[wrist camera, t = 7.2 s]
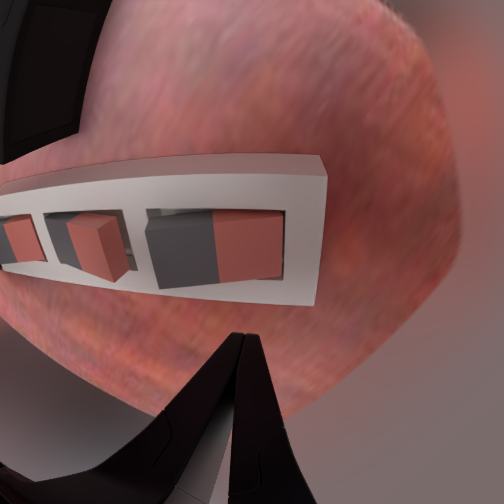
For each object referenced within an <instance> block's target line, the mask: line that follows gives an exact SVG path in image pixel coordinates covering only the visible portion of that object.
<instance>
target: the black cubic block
mask: <svg viewBox="0 0 504 504" xmlns="http://www.w3.org/2000/svg"><path fill="white" fill-rule="evenodd" d="M111 2H112V0H0V164H1V165H4V164H6V163H9V162H11V161H13V160H15V159H17V158H19V157H21V156H23V155H26V154H28V153H30V152H32V151H34V150H37V149H39V148H41V147H43V146H46V145H48V144H51V143H53V142H55V141H58V140H60V139H63V138H66V137H68V136H71V135H74V134H76V133H78V131H79V124H80V117H81V111H82V105H83V100H84V95H85V90H86V85H87V80H88V76H89V72H90V68H91V64H92V60H93V56H94V53H95V49H96V46H97V42H98V39H99V36H100V33H101V30H102V27H103V24H104V21H105V18H106V15H107V13H108V10H109V7H110V5H111Z"/></svg>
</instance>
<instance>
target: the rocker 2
mask: <svg viewBox="0 0 504 504" xmlns="http://www.w3.org/2000/svg"><path fill="white" fill-rule="evenodd" d="M44 221H45V224H46V227H47V230H48V233H49V236H50V238H51V241H52V244H53V247H54V249H55V252H56V255H57V257H58V260H59V261H60V262H62V263H65V264H67V265H69V266H72V267H74V268H77V269H79V270H82V271H84V272H87V273H89V274H92V275H94V276H97V277H100V278H102V279H105V280H107V281H110V282H113V283H115V282H116V281H117V280H119V279H120V278H121V277H122V276H123V275H124V274H125V273H126V272H128V271H129V270H130V269H131V268H130V265H129V262H128V258H127V255H126V251H125V248H124V244H123V241H122V237H121V233H120V229H119V225H118V221H117V217H115V216H108V215H102V214H95V213H88V212H81V211H65V212H53V213H51V214H50V215H48V216H46V217H45V218H44Z"/></svg>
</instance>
